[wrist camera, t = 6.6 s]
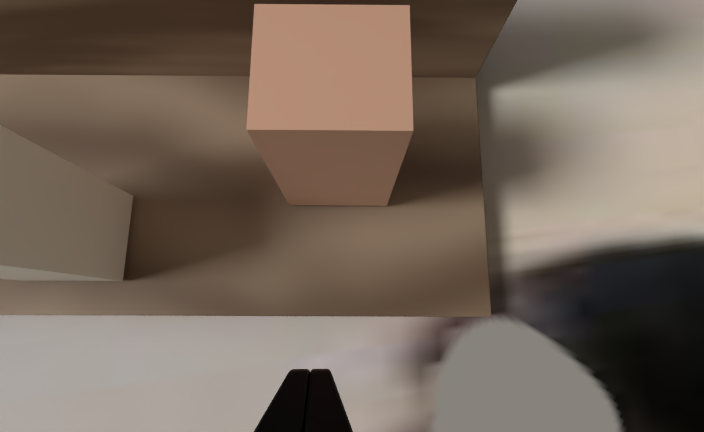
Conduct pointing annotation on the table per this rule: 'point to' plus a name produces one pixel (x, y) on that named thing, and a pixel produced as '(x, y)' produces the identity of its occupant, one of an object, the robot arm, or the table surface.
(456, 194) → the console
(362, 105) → the pink rectangular block
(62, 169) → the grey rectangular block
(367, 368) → the table surface
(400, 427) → the table surface
